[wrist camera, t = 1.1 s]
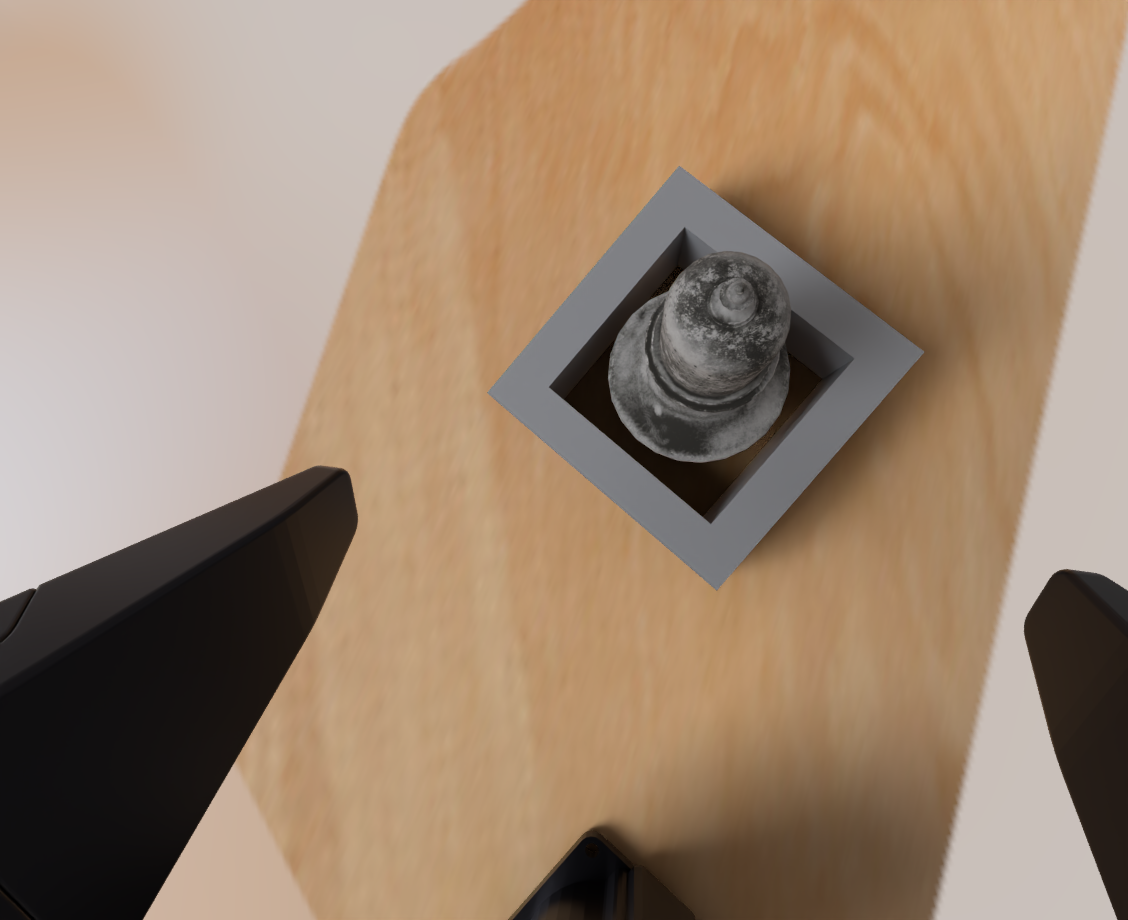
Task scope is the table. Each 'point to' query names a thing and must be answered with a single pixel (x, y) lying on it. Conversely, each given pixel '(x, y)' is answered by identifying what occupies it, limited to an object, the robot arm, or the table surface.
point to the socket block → (816, 338)
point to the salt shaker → (705, 360)
